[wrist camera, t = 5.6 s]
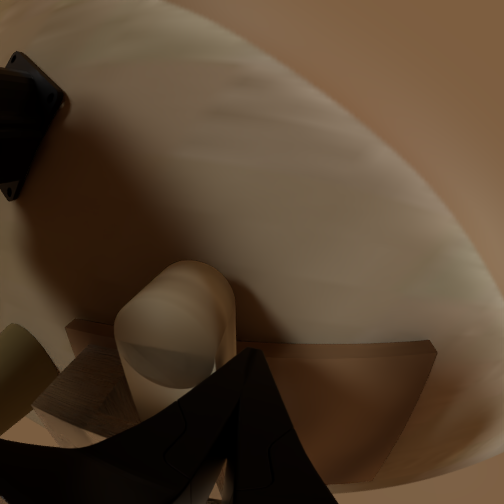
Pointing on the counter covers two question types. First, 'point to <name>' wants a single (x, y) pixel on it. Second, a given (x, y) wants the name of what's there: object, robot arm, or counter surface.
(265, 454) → the robot arm
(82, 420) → the keeper
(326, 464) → the base plate
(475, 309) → the counter surface
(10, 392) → the cork
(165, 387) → the latch arm
